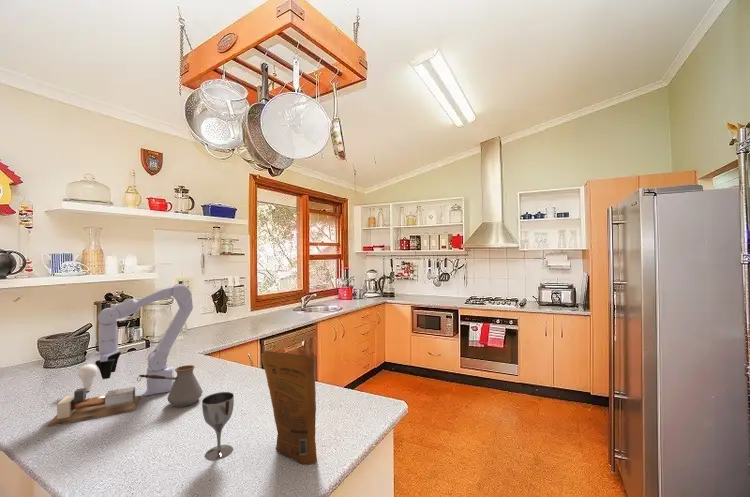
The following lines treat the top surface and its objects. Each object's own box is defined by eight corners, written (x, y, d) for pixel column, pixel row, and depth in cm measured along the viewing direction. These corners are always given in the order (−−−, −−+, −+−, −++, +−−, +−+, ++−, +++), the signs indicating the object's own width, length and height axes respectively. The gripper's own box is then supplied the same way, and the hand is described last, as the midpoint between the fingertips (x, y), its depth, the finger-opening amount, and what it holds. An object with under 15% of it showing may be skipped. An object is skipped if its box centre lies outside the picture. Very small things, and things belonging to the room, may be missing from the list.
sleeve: (135, 399, 126) (135, 386, 126) (132, 404, 122) (132, 391, 122) (108, 403, 122) (108, 390, 122) (105, 409, 118) (105, 395, 118)
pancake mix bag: (308, 474, 82) (305, 360, 82) (260, 449, 93) (258, 349, 93) (327, 460, 87) (324, 353, 88) (280, 438, 98) (278, 343, 99)
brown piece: (115, 401, 122) (114, 383, 123) (112, 404, 120) (112, 386, 120) (67, 409, 116) (67, 390, 117) (63, 412, 114) (63, 393, 114)
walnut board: (140, 397, 130) (140, 395, 130) (133, 410, 119) (133, 407, 119) (63, 411, 119) (63, 408, 119) (48, 426, 109) (48, 423, 109)
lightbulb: (86, 394, 134) (86, 367, 134) (74, 393, 135) (74, 366, 135) (101, 388, 140) (101, 362, 140) (89, 387, 141) (89, 361, 141)
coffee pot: (192, 393, 132) (191, 355, 133) (208, 399, 126) (208, 360, 127) (130, 416, 114) (130, 372, 115) (146, 424, 108) (145, 378, 109)
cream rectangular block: (76, 408, 119) (76, 394, 119) (69, 416, 113) (69, 402, 113) (65, 410, 118) (65, 396, 118) (57, 419, 112) (57, 404, 112)
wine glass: (210, 445, 96) (209, 392, 96) (238, 443, 96) (237, 391, 97) (197, 462, 88) (196, 405, 88) (228, 460, 88) (227, 403, 89)
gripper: (100, 337, 132) (101, 371, 132) (89, 345, 119) (89, 383, 119) (122, 334, 135) (123, 368, 135) (113, 342, 122) (114, 379, 122)
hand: (109, 375), depth 127 cm, fingers open, 7 cm apart
